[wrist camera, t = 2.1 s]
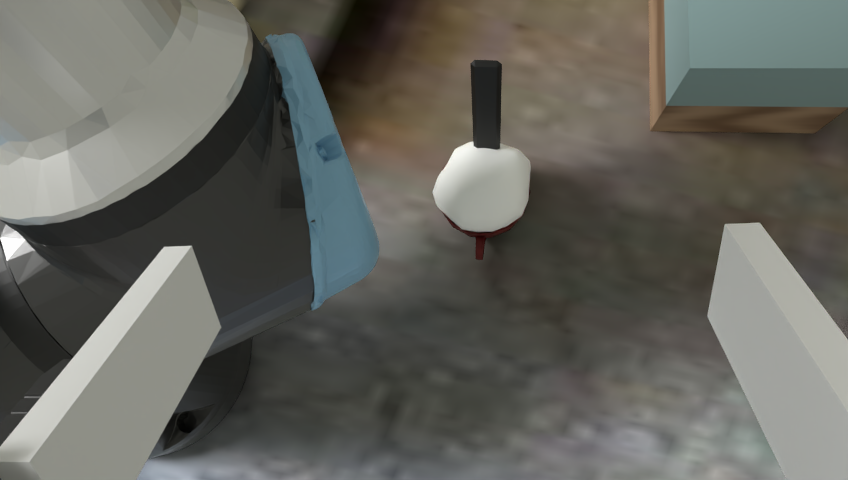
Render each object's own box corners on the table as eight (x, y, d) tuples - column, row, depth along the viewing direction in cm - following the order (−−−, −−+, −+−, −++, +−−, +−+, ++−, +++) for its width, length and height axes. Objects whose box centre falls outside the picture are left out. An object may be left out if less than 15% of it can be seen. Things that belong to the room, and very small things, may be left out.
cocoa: (496, 272, 43) (497, 251, 31) (418, 234, 44) (392, 199, 32) (554, 157, 44) (577, 93, 32) (477, 121, 45) (472, 47, 33)
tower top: (666, 105, 39) (689, 68, 34) (663, -46, 41) (685, -101, 36) (851, 107, 37) (903, 68, 32) (838, -50, 40) (885, -108, 35)
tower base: (649, 132, 44) (667, 103, 39) (647, -4, 46) (665, -48, 41) (812, 134, 42) (853, 104, 37) (802, -6, 44) (839, -52, 40)
